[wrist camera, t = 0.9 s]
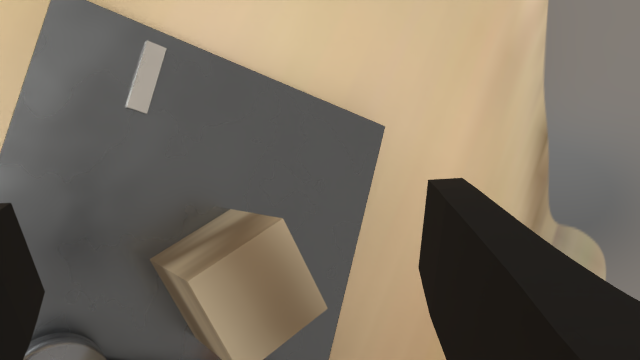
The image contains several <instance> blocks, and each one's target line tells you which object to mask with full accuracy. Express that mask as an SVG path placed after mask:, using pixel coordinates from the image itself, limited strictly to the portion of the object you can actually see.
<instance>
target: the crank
mask: <svg viewBox="0 0 640 360" xmlns="http://www.w3.org/2000/svg"><path fill="white" fill-rule="evenodd" d="M23 360H107V359H106V358H105V356H104V354H103V353H102V351H101V350H100V348H99V347H98V346H97V345H96V344H95V343H94V342H93V341H91V340H90V339H88V338H86V337H84V336H82V335H79V334H75V333H70V332H57V333H51V334H47V335H44V336H41V337H39V338H36V339H35V340H33V341H31V342H30V345H29V347H28V349H27V352H26V354H25V356H24V359H23Z"/></svg>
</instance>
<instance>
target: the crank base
mask: <svg viewBox="0 0 640 360" xmlns="http://www.w3.org/2000/svg"><path fill="white" fill-rule="evenodd" d="M384 129H385V126H383V125H380V124H378V123H376V122H373V121H371V120H368V119H366V118H364V117H361V116H359V115H357V114H354V113H352V112H349V111H347V110H345V109H342V108H340V107H338V106H335V105H333V104H331V103H328V102H326V101H323V100H321V99H319V98H316V97H314V96H312V95H309V94H307V93H304V92H302V91H300V90H297V89H295V88H293V87H290V86H288V85H285V84H283V83H281V82H278V81H276V80H274V79H271V78H269V77H266V76H264V75H262V74H259V73H257V72H255V71H252V70H250V69H248V68H245V67H243V66H240V65H238V64H236V63H233V62H231V61H229V60H226V59H224V58H221V57H219V56H217V55H214V54H212V53H210V52H207V51H205V50H202V49H200V48H198V47H195V46H193V45H191V44H188V43H186V42H184V41H181V40H179V39H176V38H174V37H172V36H169V35H167V34H165V33H162V32H160V31H157V30H155V29H153V28H150V27H148V26H146V25H143V24H141V23H138V22H136V21H134V20H131V19H129V18H127V17H124V16H122V15H120V14H117V13H115V12H112V11H110V10H108V9H105V8H103V7H101V6H98V5H96V4H93V3H91V2H89V1H86V0H51V1H50V4H49V7H48V10H47V13H46V16H45V19H44V22H43V25H42V28H41V31H40V34H39V37H38V40H37V43H36V46H35V49H34V52H33V55H32V58H31V61H30V64H29V67H28V70H27V73H26V76H25V79H24V82H23V86H22V89H21V92H20V95H19V98H18V101H17V104H16V107H15V110H14V113H13V116H12V119H11V122H10V125H9V128H8V131H7V134H6V137H5V140H4V143H3V146H2V149H1V152H0V203H11V204H12V206H13V209H14V212H15V214H16V217H17V219H18V222H19V225H20V227H21V230H22V233H23V235H24V238H25V240H26V243H27V246H28V248H29V251H30V254H31V256H32V259H33V261H34V264H35V267H36V269H37V272H38V275H39V277H40V280H41V282H42V285H43V288H44V290H45V294H44V297H43V301H42V305H41V308H40V312H39V316H38V319H37V323H36V326H35V329H34V332H33V335H32V339H31V341H33V340H35V339H36V338H39V337H41V336H44V335H47V334H51V333H57V332H70V333H75V334H79V335H82V336H84V337H86V338H88V339H90V340H91V341H93V342H94V343H95V344H96V345H97V346H98V347H99V348H100V350H101V351H102V353H103V354H104V356H105V358H106V359H107V360H222V359H220V358H219V357H218V356H217V355H216V354H214V353H213V352H212V351H211V350H210V349H208V348H207V347H206V346H205V345H204V344H202V343H201V342H200V341H199V340H198V339H196V338H195V336H194V334H193V333H192V331H191V329H190V328H189V326H188V324H187V322H186V321H185V319H184V317H183V316H182V314H181V312H180V311H179V309H178V307H177V305H176V304H175V302H174V300H173V299H172V297H171V295H170V294H169V292H168V290H167V288H166V287H165V285H164V283H163V282H162V280H161V278H160V276H159V275H158V273H157V271H156V270H155V268H154V266H153V265H152V263H151V261H150V259H151V258H152V257H154V256H156V255H157V254H159V253H160V252H162V251H164V250H165V249H167V248H169V247H170V246H172V245H173V244H175V243H177V242H178V241H180V240H181V239H183V238H185V237H186V236H188V235H190V234H191V233H193V232H194V231H196V230H198V229H199V228H201V227H203V226H204V225H206V224H207V223H209V222H211V221H212V220H214V219H215V218H217V217H219V216H220V215H222V214H224V213H225V212H227V211H228V210H230V209H233V210H239V211H244V212H250V213H256V214H261V215H267V216H272V217H278V218H283V219H284V221H285V223H286V225H287V227H288V229H289V231H290V233H291V235H292V237H293V239H294V241H295V243H296V245H297V247H298V249H299V251H300V253H301V255H302V257H303V259H304V261H305V263H306V266H307V268H308V270H309V272H310V274H311V276H312V278H313V280H314V282H315V284H316V286H317V288H318V290H319V292H320V294H321V296H322V298H323V300H324V302H325V304H326V306H327V308H328V309H327V310H325V311H324V312H323V313H321V314H320V315H319V316H318V317H316V318H315V319H314V320H313V321H311V322H310V323H309V324H308V325H306V326H305V327H304V328H302V329H301V330H300V331H299V332H297V333H296V334H295V335H294V336H292V337H291V338H290V339H289V340H287V341H286V342H285V343H283V344H282V345H281V346H280V347H278V348H277V349H276V350H275V351H273V352H272V353H271V354H269V355H268V356H267V357H266V358H264V359H263V360H329V355H330V351H331V347H332V343H333V339H334V335H335V331H336V327H337V323H338V318H339V314H340V310H341V306H342V302H343V298H344V294H345V290H346V285H347V281H348V277H349V273H350V269H351V265H352V261H353V257H354V252H355V248H356V244H357V240H358V236H359V232H360V228H361V224H362V220H363V215H364V211H365V207H366V203H367V199H368V195H369V191H370V187H371V182H372V178H373V174H374V170H375V166H376V162H377V158H378V154H379V150H380V145H381V141H382V137H383V133H384Z"/></svg>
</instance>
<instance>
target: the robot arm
mask: <svg viewBox="0 0 640 360" xmlns="http://www.w3.org/2000/svg"><path fill="white" fill-rule="evenodd" d="M419 271H420V276H421V280H422V285H423V289H424V293H425V297H426V301H427V305H428V309H429V313H430V317H431V320H432V322H433V325H434V328H435V330H436V333H437V336H438V338H439V341H440V344H441V346H442V349H443V352H444V354H445V357H446V360H640V301H638V300H636V299H634V298H633V297H631V296H629V295H627V294H626V293H624V292H622V291H621V290H619V289H617V288H616V287H614V286H613V285H611V284H609V283H608V282H606V281H604V280H603V279H601V278H600V277H598V276H597V275H595V274H594V273H592V272H591V271H589V270H588V269H586V268H585V267H583V266H582V265H580V264H578V263H577V262H575V261H574V260H572V259H571V258H569V257H568V256H567V255H565V254H564V253H562V252H561V251H559V250H558V249H556V248H555V247H554V246H552V245H551V244H549V243H548V242H547V241H545V240H544V239H542V238H541V237H540V236H538V235H537V234H536V233H534V232H533V231H532V230H530V229H529V228H528V227H526V226H525V225H524V224H522V223H521V222H520V221H518V220H517V219H516V218H514V217H513V216H512V215H510V214H509V213H508V212H506V211H505V210H504V209H503V208H501V207H500V206H499V205H497V204H496V203H495V202H494V201H492V200H491V199H490V198H488V197H487V196H486V195H484V194H483V193H482V192H481V191H479V190H478V189H477V188H475V187H474V186H473V185H471V184H470V183H468V182H467V181H466V180H464V179H463V178H454V179H436V180H428V187H427V196H426V205H425V214H424V223H423V232H422V241H421V250H420V260H419ZM44 294H45V290H44V288H43V285H42V282H41V280H40V277H39V275H38V272H37V269H36V267H35V264H34V261H33V259H32V256H31V254H30V251H29V248H28V246H27V243H26V240H25V238H24V235H23V233H22V230H21V227H20V225H19V222H18V219H17V217H16V214H15V212H14V209H13V206H12V204H11V203H0V360H23V359H24V356H25V354H26V352H27V349H28V347H29V345H30V342H31V339H32V335H33V332H34V329H35V326H36V323H37V319H38V316H39V312H40V308H41V305H42V301H43V297H44Z"/></svg>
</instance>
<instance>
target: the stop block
mask: <svg viewBox="0 0 640 360" xmlns="http://www.w3.org/2000/svg"><path fill="white" fill-rule="evenodd" d="M150 261H151V263H152V265H153V266H154V268H155V270H156V271H157V273H158V275H159V276H160V278H161V280H162V282H163V283H164V285H165V287H166V288H167V290H168V292H169V294H170V295H171V297H172V299H173V300H174V302H175V304H176V305H177V307H178V309H179V311H180V312H181V314H182V316H183V317H184V319H185V321H186V322H187V324H188V326H189V328H190V329H191V331H192V333H193V334H194V336H195V338H196V339H198V340H199V341H200V342H201V343H202V344H204V345H205V346H206V347H207V348H208V349H210V350H211V351H212V352H213V353H214V354H216V355H217V356H218V357H219V358H220V359H222V360H263V359H264V358H266V357H267V356H268V355H269V354H271V353H272V352H273V351H275V350H276V349H277V348H278V347H280V346H281V345H282V344H283V343H285V342H286V341H287V340H289V339H290V338H291V337H292V336H294V335H295V334H296V333H297V332H299V331H300V330H301V329H302V328H304V327H305V326H306V325H308V324H309V323H310V322H311V321H313V320H314V319H315V318H316V317H318V316H319V315H320V314H321V313H323V312H324V311H325V310H327V309H328V308H327V306H326V304H325V302H324V300H323V298H322V296H321V294H320V292H319V290H318V288H317V286H316V284H315V282H314V280H313V278H312V276H311V274H310V272H309V270H308V268H307V266H306V263H305V261H304V259H303V257H302V255H301V253H300V251H299V249H298V247H297V245H296V243H295V241H294V239H293V237H292V235H291V233H290V231H289V229H288V227H287V225H286V223H285V221H284V219H283V218H278V217H272V216H267V215H261V214H256V213H250V212H244V211H239V210H233V209H230V210H228V211H227V212H225V213H224V214H222V215H220V216H219V217H217V218H215V219H214V220H212V221H211V222H209V223H207V224H206V225H204V226H203V227H201V228H199V229H198V230H196V231H194V232H193V233H191V234H190V235H188V236H186V237H185V238H183V239H181V240H180V241H178V242H177V243H175V244H173V245H172V246H170V247H169V248H167V249H165V250H164V251H162V252H160V253H159V254H157V255H156V256H154V257H152V258H151V259H150Z"/></svg>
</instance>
